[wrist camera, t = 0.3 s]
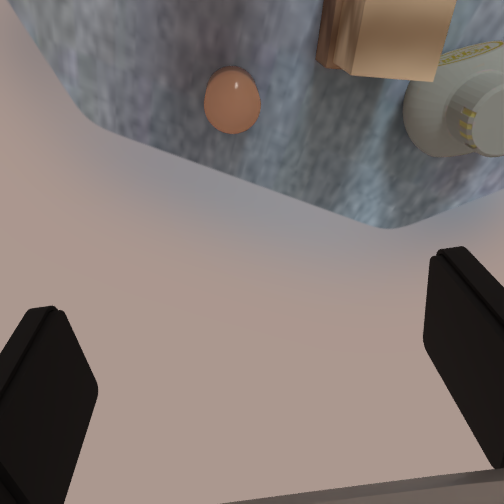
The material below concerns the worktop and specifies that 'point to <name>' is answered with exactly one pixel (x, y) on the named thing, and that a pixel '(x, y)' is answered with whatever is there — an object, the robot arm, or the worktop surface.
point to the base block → (329, 33)
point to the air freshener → (460, 104)
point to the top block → (392, 37)
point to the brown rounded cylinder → (232, 100)
